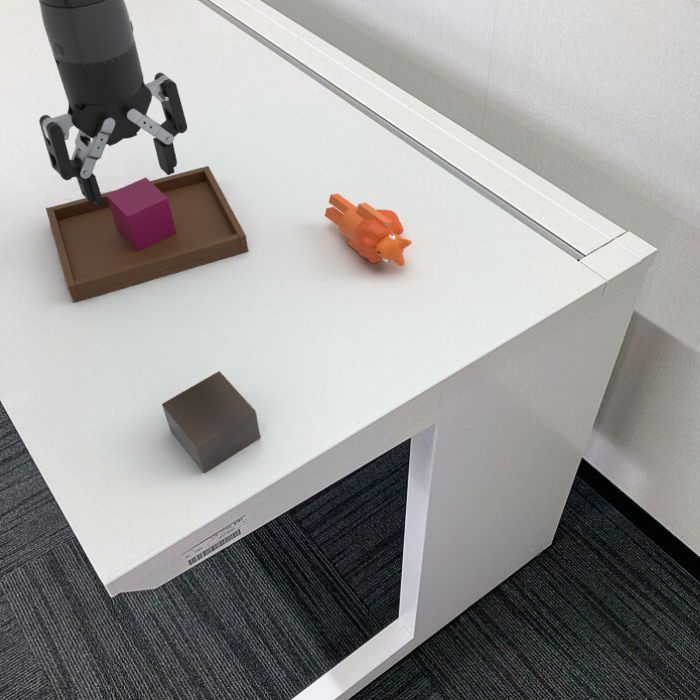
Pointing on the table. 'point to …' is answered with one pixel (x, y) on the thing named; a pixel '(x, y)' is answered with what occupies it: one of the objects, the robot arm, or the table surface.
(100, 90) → the robot arm
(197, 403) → the dark brown block
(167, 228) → the mulberry block
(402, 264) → the orange toy animal
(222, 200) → the tray
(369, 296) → the table surface
